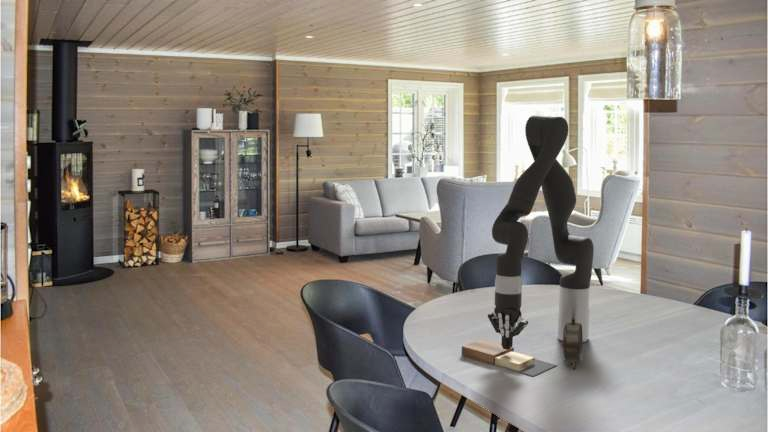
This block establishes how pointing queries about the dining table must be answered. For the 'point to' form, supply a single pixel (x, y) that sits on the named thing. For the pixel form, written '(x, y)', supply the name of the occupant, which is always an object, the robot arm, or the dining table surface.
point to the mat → (535, 368)
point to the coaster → (514, 361)
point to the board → (484, 351)
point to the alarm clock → (572, 342)
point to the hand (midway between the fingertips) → (506, 348)
